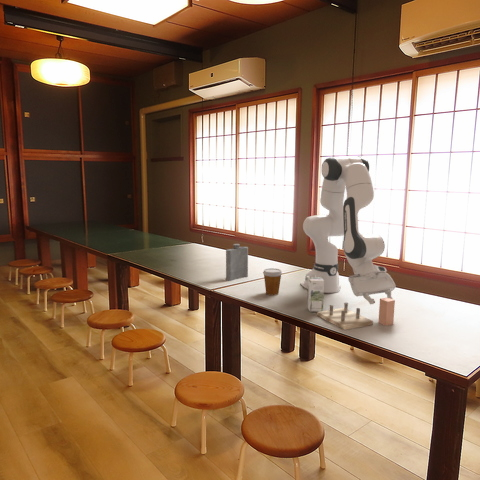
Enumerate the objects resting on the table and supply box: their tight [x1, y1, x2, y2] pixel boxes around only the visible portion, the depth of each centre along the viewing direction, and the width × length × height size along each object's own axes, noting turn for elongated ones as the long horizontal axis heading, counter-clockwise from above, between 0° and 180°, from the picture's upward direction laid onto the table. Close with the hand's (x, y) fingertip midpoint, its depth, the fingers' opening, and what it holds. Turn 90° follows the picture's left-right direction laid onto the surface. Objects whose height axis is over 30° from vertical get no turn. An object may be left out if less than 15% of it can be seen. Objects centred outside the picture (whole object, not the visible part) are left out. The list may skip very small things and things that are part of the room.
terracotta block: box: [378, 297, 396, 326], centre depth 164 cm, size 4×4×10 cm
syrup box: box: [307, 277, 325, 313], centre depth 179 cm, size 6×6×14 cm
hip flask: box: [225, 243, 249, 282], centre depth 233 cm, size 16×4×20 cm, turn 133°
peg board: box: [316, 302, 374, 331], centre depth 168 cm, size 18×14×6 cm
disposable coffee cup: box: [262, 267, 283, 296], centre depth 204 cm, size 10×10×12 cm
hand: (381, 302), depth 165 cm, fingers open, 8 cm apart
